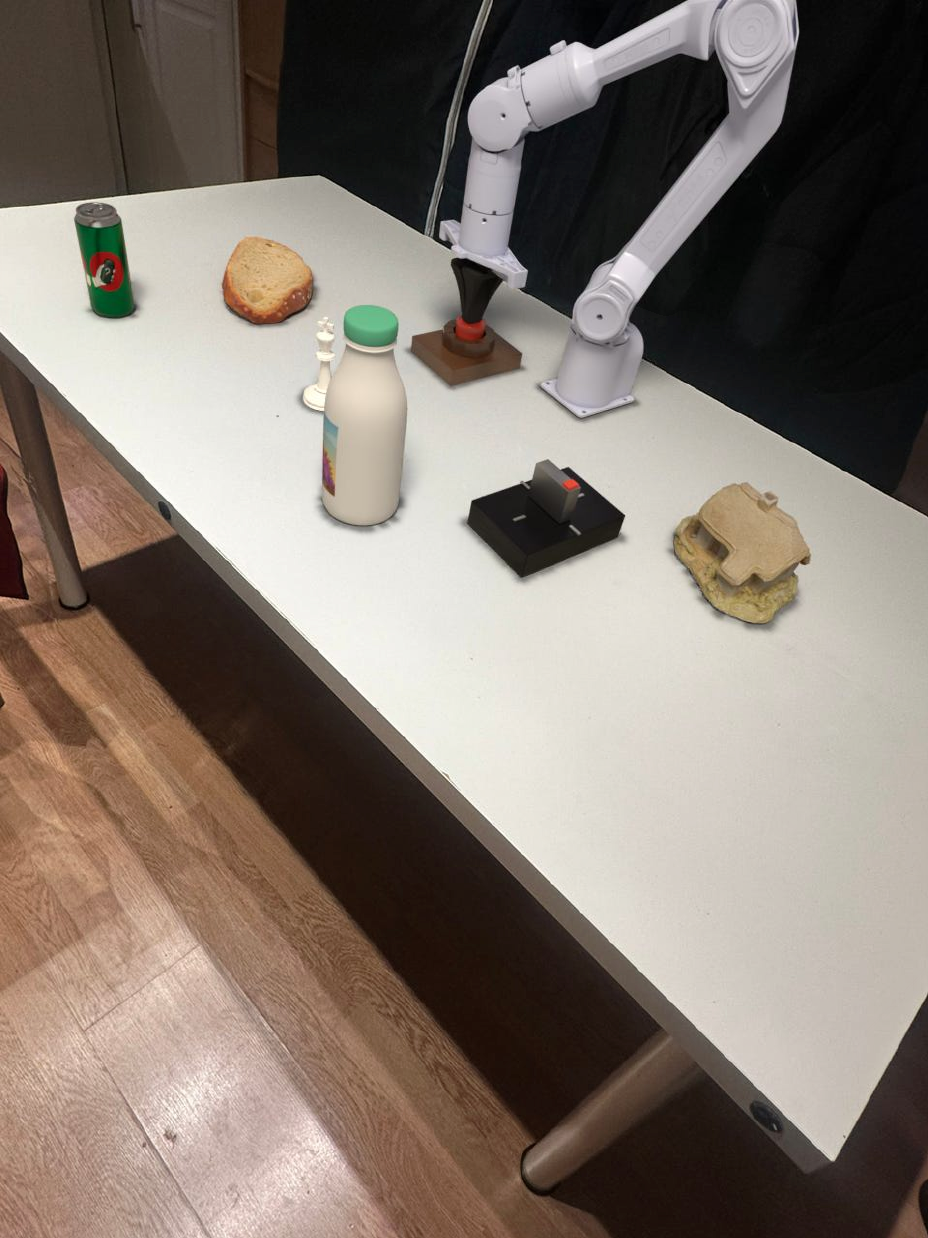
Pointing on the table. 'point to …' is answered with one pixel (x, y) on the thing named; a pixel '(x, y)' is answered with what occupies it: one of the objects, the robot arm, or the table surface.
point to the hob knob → (554, 491)
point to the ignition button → (469, 329)
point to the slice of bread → (266, 281)
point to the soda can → (104, 259)
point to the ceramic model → (743, 552)
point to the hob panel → (542, 526)
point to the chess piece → (321, 367)
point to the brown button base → (465, 354)
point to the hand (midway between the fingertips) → (471, 320)
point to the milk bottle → (364, 421)
